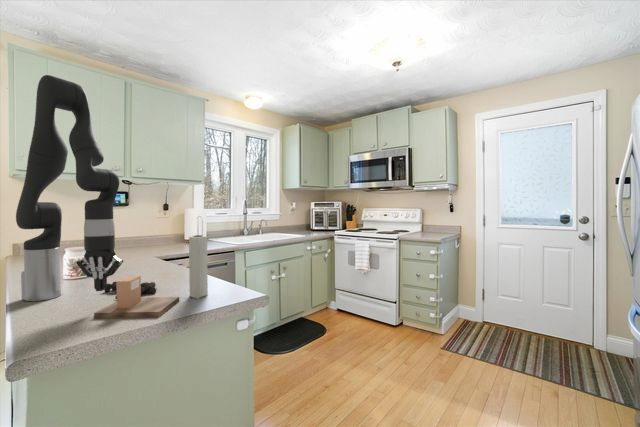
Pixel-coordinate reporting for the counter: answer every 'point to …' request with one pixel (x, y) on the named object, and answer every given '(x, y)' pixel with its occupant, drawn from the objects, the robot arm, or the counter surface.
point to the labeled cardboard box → (128, 291)
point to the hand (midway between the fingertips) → (100, 290)
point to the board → (139, 308)
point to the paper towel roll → (198, 266)
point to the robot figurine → (144, 287)
